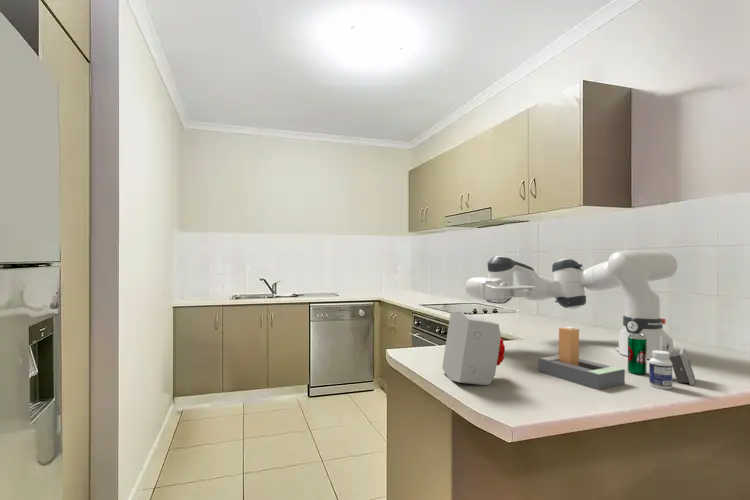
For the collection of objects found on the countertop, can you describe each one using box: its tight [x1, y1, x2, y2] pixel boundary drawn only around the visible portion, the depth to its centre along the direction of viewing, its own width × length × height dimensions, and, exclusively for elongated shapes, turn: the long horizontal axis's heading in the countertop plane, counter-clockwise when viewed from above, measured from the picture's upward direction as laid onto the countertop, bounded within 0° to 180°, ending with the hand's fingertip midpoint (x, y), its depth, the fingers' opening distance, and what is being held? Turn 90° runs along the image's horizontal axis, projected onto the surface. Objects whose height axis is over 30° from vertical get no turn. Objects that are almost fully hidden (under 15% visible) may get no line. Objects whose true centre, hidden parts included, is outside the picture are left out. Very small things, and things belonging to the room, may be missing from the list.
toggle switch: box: [537, 354, 626, 391], centre depth 126 cm, size 12×20×4 cm, turn 29°
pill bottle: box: [648, 350, 673, 390], centre depth 118 cm, size 5×5×10 cm
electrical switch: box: [669, 347, 696, 386], centre depth 124 cm, size 9×5×9 cm, turn 141°
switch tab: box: [558, 326, 580, 366], centre depth 129 cm, size 4×4×13 cm
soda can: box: [627, 334, 648, 376], centre depth 131 cm, size 5×5×12 cm
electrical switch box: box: [441, 310, 506, 386], centre depth 123 cm, size 15×15×20 cm
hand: (528, 293), depth 143 cm, fingers closed
